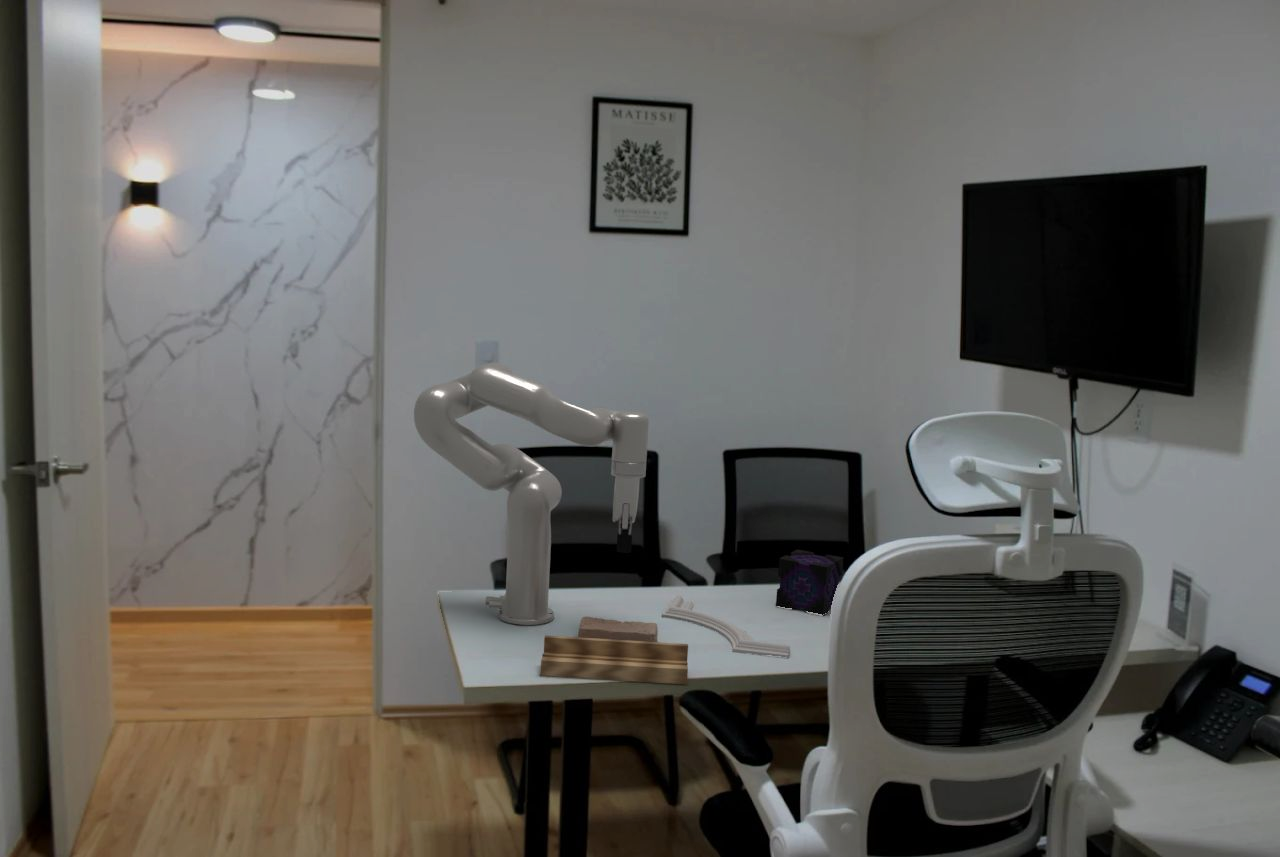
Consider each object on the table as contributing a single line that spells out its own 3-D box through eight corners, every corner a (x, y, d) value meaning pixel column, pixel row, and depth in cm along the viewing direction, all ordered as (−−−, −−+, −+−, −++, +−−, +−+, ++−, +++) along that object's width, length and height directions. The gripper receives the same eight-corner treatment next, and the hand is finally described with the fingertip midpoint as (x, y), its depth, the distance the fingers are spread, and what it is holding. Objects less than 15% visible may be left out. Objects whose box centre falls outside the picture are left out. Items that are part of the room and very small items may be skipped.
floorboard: (540, 675, 213) (541, 645, 212) (545, 658, 223) (547, 629, 222) (686, 684, 212) (688, 654, 212) (685, 666, 222) (687, 637, 222)
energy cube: (793, 596, 279) (797, 549, 277) (839, 605, 273) (843, 557, 272) (775, 607, 268) (779, 558, 267) (823, 616, 263) (827, 567, 261)
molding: (801, 659, 233) (802, 645, 233) (756, 666, 227) (758, 652, 226) (683, 604, 268) (684, 592, 268) (641, 609, 261) (642, 597, 261)
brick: (657, 640, 238) (658, 619, 238) (656, 653, 230) (658, 631, 229) (579, 636, 239) (580, 615, 238) (576, 649, 230) (577, 627, 230)
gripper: (612, 462, 248) (608, 542, 251) (609, 473, 233) (605, 559, 236) (646, 464, 248) (641, 544, 250) (645, 475, 233) (640, 561, 236)
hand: (623, 551), depth 243 cm, fingers closed
